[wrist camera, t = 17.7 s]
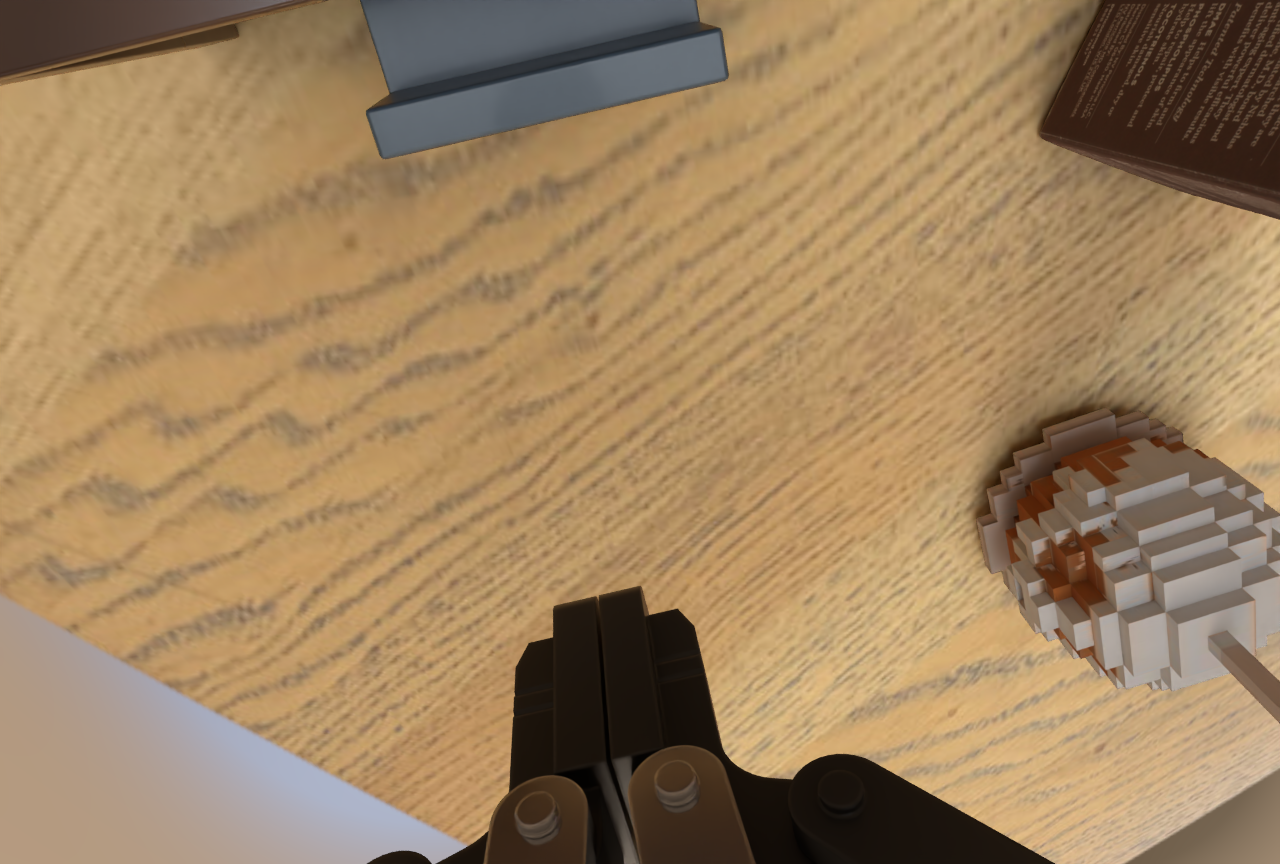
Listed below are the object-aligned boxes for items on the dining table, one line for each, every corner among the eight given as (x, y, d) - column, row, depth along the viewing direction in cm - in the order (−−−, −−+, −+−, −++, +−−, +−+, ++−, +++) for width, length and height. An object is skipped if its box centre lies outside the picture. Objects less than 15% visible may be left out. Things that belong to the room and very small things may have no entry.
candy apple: (957, 448, 31) (1259, 800, 18) (1176, 373, 30) (1659, 681, 17) (989, 610, 34) (1261, 1006, 21) (1186, 546, 34) (1593, 913, 21)
